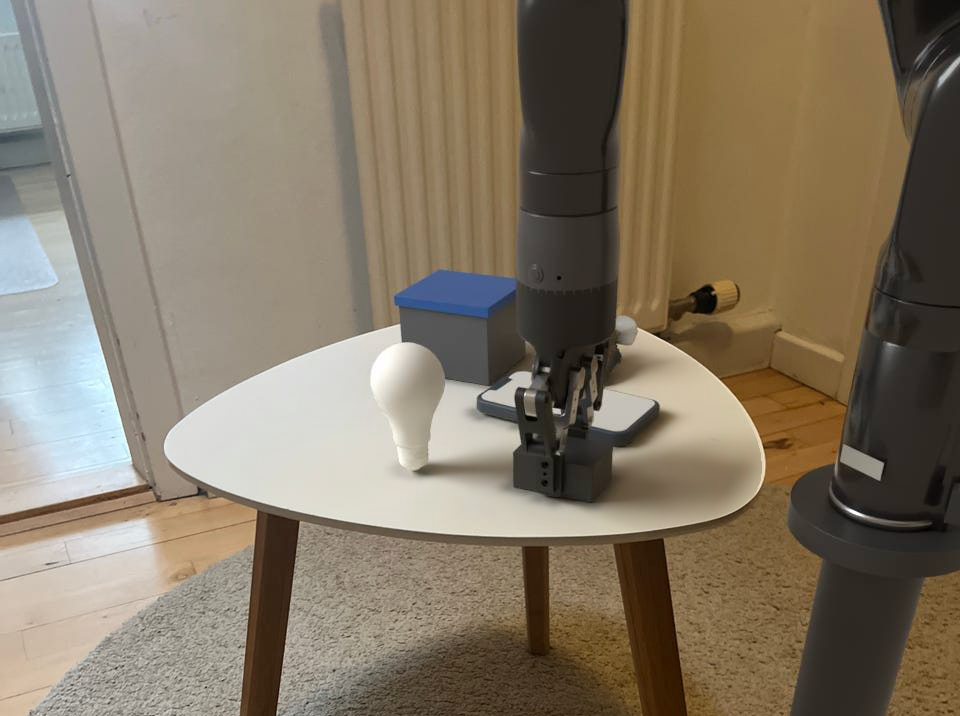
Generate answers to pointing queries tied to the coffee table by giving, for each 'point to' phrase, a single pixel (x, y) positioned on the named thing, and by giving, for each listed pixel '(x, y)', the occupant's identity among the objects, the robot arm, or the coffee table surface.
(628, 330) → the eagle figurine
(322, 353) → the coffee table surface
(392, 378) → the lightbulb
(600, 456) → the case
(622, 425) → the smartphone
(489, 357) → the container
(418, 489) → the coffee table surface
